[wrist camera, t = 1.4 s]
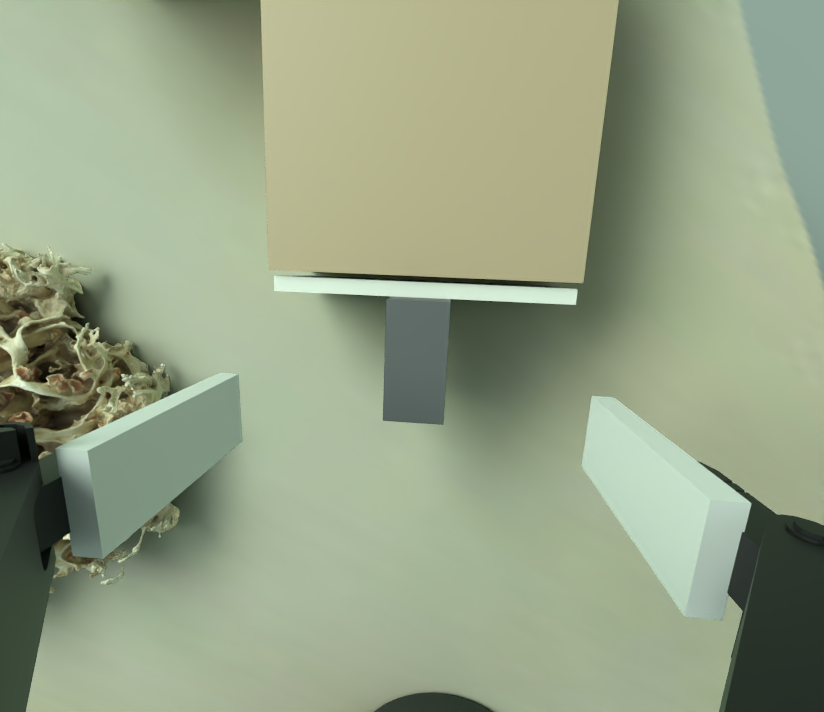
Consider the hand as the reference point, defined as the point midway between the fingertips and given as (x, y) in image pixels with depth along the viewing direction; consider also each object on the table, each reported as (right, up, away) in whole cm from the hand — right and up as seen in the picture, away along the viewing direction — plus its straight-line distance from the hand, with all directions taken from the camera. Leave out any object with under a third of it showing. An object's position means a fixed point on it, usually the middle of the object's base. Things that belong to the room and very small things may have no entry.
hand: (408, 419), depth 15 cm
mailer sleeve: (+2, +18, +10) cm, 20 cm away
